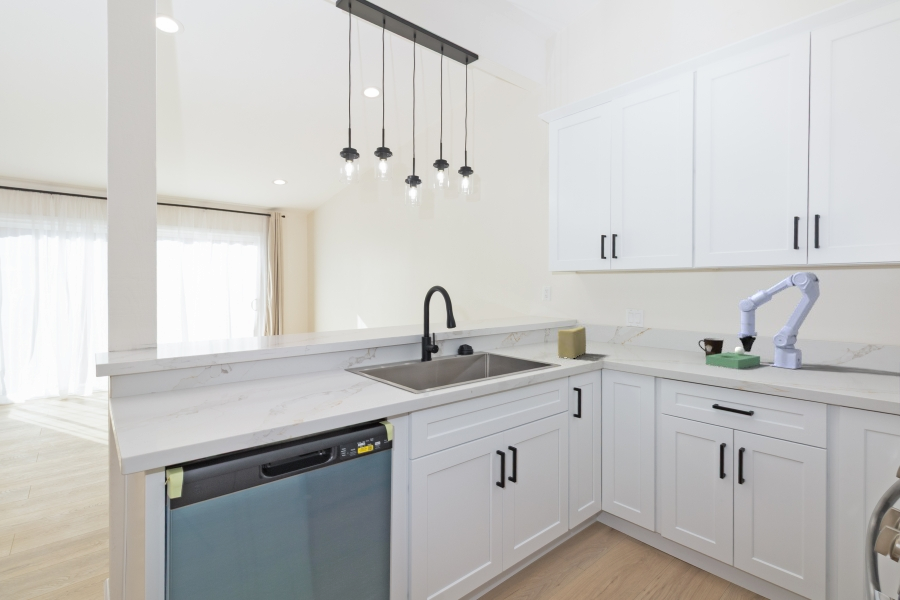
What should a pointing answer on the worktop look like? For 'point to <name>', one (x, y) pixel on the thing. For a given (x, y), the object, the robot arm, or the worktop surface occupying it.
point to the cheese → (571, 342)
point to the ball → (739, 350)
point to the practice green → (733, 360)
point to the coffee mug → (712, 346)
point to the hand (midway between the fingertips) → (747, 351)
